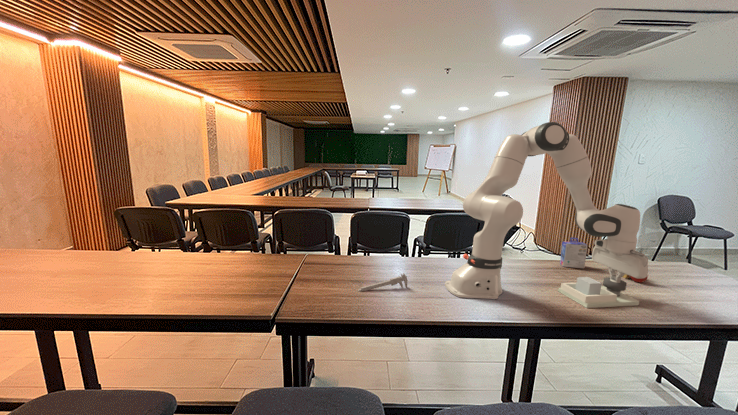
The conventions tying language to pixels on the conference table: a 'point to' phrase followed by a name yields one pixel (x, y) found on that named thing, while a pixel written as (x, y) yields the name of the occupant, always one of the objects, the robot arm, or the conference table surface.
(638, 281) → the kendama
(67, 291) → the conference table surface
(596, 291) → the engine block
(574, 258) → the ink cartridge box
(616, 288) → the wheel
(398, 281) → the caliper
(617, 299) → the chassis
